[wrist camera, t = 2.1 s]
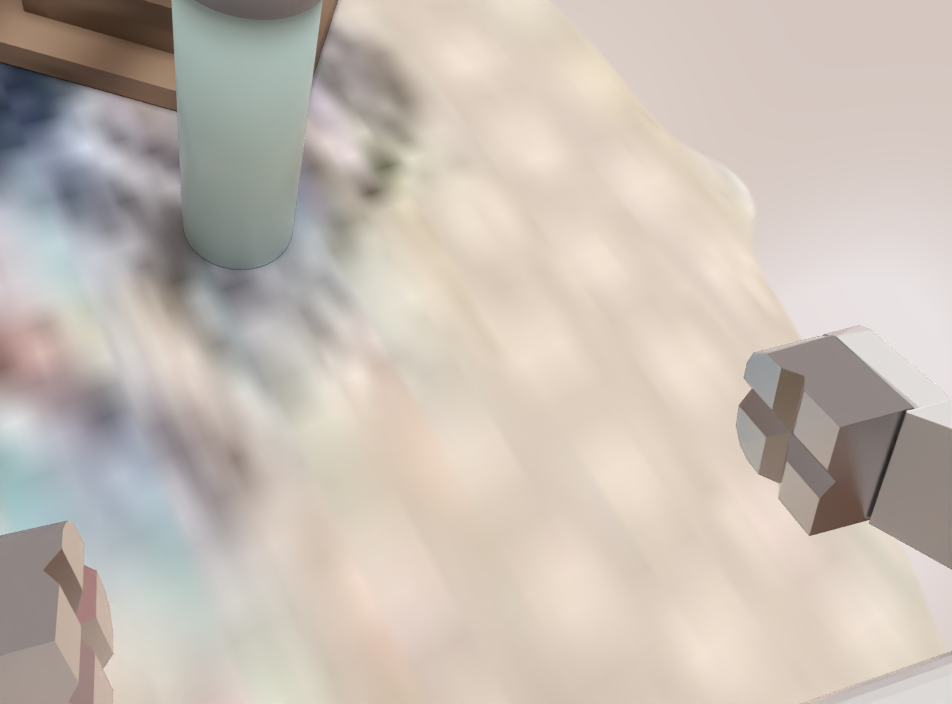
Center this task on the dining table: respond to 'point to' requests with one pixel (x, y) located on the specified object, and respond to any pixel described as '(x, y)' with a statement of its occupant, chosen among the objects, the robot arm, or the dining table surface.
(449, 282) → the dining table surface
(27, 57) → the walnut rack
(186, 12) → the capped tube
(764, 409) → the robot arm
